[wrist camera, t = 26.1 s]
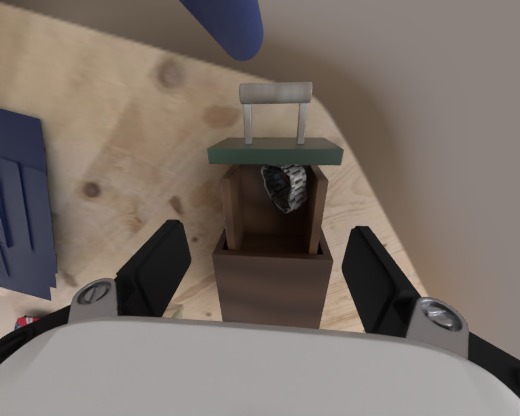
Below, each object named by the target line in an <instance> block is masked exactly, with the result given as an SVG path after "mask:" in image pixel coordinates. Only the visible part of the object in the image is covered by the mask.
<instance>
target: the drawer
mask: <svg viewBox="0 0 520 416" xmlns="http://www.w3.org/2000/svg"><path fill="white" fill-rule="evenodd" d="M239 96H240V102H241V104H243V110H244V132H245V138H227V139H225V140H223V141H221V142H219V143H218V144H216V145H214V146H212V147H210V148H208V149H207V151H208V159H209V164H233V165H232V166H231V167H230V168H229V169H228V170H227V172H226V173H225V174H224V175H223V176H222V177H221V178H220V183H221V192H222V201H223V210H224V219H225V228H226V237H227V246H228V250H235V251H255V252H274V253H294V254H314V255H317V250H318V243H319V237H320V231H321V224H322V218H323V212H324V205H325V199H326V193H327V186H328V180H327V178H326V177H325V175H324V174H323V173H322V171H321V170H320V168H319V167H318V165H341V162H342V157H343V151H344V149H342V148H340V147H339V146H337V145H335V144H334V143H332V142H330V141H329V140H327V139H325V138H305V127H306V116H307V105H308V104H307V103H310V101H311V96H312V83H311V82H291V83H251V84H240V87H239ZM284 103H300V104H299V115H298V129H297V138H252V109H251V104H284ZM265 164H271V165H300V166H302V167H303V168H304V170H305V175H306V185H305V192H306V193H307V195H308V196H307V199H306V200H305V201H304V202H302V204H301V206H299V207H298V208H297V209H296V210H292V211H291V212H289V213H284V212H282V211H280V210H279V209H277V208H276V207H275V206H274V204H273V203H272V201H271V199H270V197H269V195H268V193H267V190H266V188H265V187H264V182H265V181H264V179H263V177H262V174H261V167H262V166H263V165H265ZM278 173H279V176H280V179H282V180H283V181H284V182H285V184H286V185H289V186H290V182H289V181H288V179H287V178H286V177H285V176H284V175H282V174H281V173H280V172H278Z"/></svg>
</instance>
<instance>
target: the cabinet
mask: <svg viewBox="0 0 520 416" xmlns="http://www.w3.org/2000/svg"><path fill="white" fill-rule="evenodd" d="M212 257H213V264H214V270H215V276H216V282H217V288H218V295H219V301H220V307H221V313H222V319H223V322H233V323H247V324H260V325H274V326H287V327H299V328H312V329H319V326H320V321H321V317H322V312H323V307H324V302H325V298H326V293H327V288H328V284H329V279H330V274H331V270H332V265H333V259H332V256H331V253H330V250H329V248H328V245H327V242H326V239H325V236H324V234H323V231H322V228H321V231H320V237H319V243H318V250H317V255H314V254H294V253H274V252H255V251H235V250H228V246H227V237H226V228H224V230H223V232H222V234H221V236H220V239H219V241H218V243H217V245H216V247H215V250H214V251H213V253H212Z"/></svg>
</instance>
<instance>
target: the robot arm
mask: <svg viewBox="0 0 520 416" xmlns="http://www.w3.org/2000/svg"><path fill="white" fill-rule="evenodd" d="M190 264H191V255H190V251H189V246H188V242H187V238H186V234H185V230H184V226H183V223H181V222H180V221H179V220H167V221H166V222H165V223H164V224H163V225H162V226H161V227H160V228H159V229H158V230H157V231H156V232H155V233H154V234H153V235H152V236H151V238H150V239H149V240H148V241H147V242H146V243H145V244H144V245H143V246H142V247H141V248H140V249H139V250H138V251H137V252H136V253H135V254H134V255H133V256H132V257H131V259H130V260H129V261H128V262H127V263H126V264H125V265H124V266H123V267H122V268H121V269H120V270H119V271H118V272H117V273H116V275H117V277H116V278H115V279H114V280H113V279H111V278H102V279H99V280H95V281H93V282H91V283H89V284H87V285H86V286H84V287H83V288H81V289H80V290H79V291H78V292H77V293H76V294H75V296H74V297H73V299H72V302H71V305H69V306H67V307H64V308H62V309H60V310H58V311H56V312H53V313H51V314H49V315H47V316H45V317H42V318H40V319H38V320H36V321H34V322H31V323H29V324H27V325H25V326H23V327H20V328H18V329H16V330H14V331H12V332H10V333H9V334H7V335H6V336H4V337H2V338H1V339H0V416H520V360H518V359H516V358H515V357H513V356H511V355H510V354H508V353H506V352H504V351H503V350H501V349H499V348H497V347H496V346H494V345H492V344H490V343H489V342H487V341H485V340H483V339H481V338H480V337H478V336H476V335H475V334H473V333H471V332H469V328H468V324H467V322H466V321H465V319H464V317H463V316H462V315H461V314H460V313H459V312H458V311H457V310H455V309H454V308H453V307H451V306H450V305H448V304H446V303H445V302H443V301H440V300H438V299H435V298H431V297H421V296H420V294H419V293H418V292H417V290H416V289H415V288H414V286H413V285H412V284H411V282H410V281H409V280H408V278H407V277H406V276H405V274H404V273H403V272H402V270H401V269H400V268H399V266H398V265H397V264H396V262H395V261H394V260H393V258H392V257H391V256H390V254H389V253H388V252H387V250H386V249H385V248H384V246H383V245H382V244H381V242H380V241H379V240H378V238H377V237H376V236H375V234H374V233H373V232H372V230H371V229H370V228H369V227H368V226H356V227H355V228H354V229H351V232H350V236H349V240H348V244H347V248H346V251H345V255H344V259H343V263H342V273H343V275H344V278H345V280H346V283H347V285H348V288H349V291H350V293H351V296H352V298H353V301H354V303H355V306H356V309H357V311H358V314H359V316H360V319H361V321H362V324H363V327H364V329H365V332H366V333H358V332H348V331H337V330H324V329H312V328H299V327H287V326H274V325H260V324H247V323H233V322H220V321H205V320H191V319H176V318H161V317H162V315H163V314H164V312H165V310H166V308H167V306H168V304H169V302H170V301H171V299H172V297H173V295H174V293H175V291H176V290H177V288H178V286H179V284H180V282H181V280H182V279H183V277H184V275H185V273H186V271H187V269H188V268H189V266H190Z"/></svg>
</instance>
